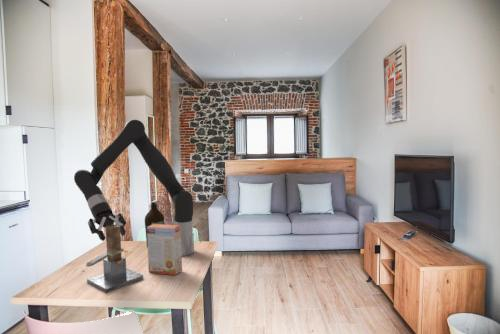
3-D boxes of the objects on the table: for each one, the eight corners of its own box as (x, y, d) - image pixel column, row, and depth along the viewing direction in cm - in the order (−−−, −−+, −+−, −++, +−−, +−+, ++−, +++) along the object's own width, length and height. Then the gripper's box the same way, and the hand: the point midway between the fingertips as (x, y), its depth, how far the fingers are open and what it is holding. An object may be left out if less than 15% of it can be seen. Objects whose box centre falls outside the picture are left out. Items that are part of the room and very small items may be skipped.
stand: (123, 269, 141) (122, 249, 141) (143, 278, 131) (142, 256, 131) (87, 282, 129) (85, 260, 128) (106, 293, 119) (104, 268, 118)
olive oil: (142, 245, 176) (140, 202, 174) (160, 241, 183) (158, 200, 181) (150, 250, 168) (148, 204, 166) (168, 245, 175) (166, 202, 173)
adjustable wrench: (89, 267, 147) (89, 263, 147) (79, 266, 149) (78, 262, 148) (125, 249, 171) (124, 246, 171) (115, 249, 173) (115, 245, 172)
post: (117, 263, 132) (115, 224, 131) (122, 266, 130) (120, 226, 129) (107, 266, 129) (105, 226, 128) (112, 269, 127) (110, 228, 126)
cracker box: (182, 270, 139) (181, 224, 138) (175, 276, 133) (173, 228, 132) (156, 267, 144) (154, 223, 142) (148, 272, 138) (146, 226, 137)
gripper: (85, 204, 127) (99, 236, 121) (118, 199, 138) (133, 228, 132) (80, 215, 131) (94, 246, 125) (112, 209, 142) (127, 238, 136)
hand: (114, 237), depth 128 cm, fingers open, 8 cm apart
